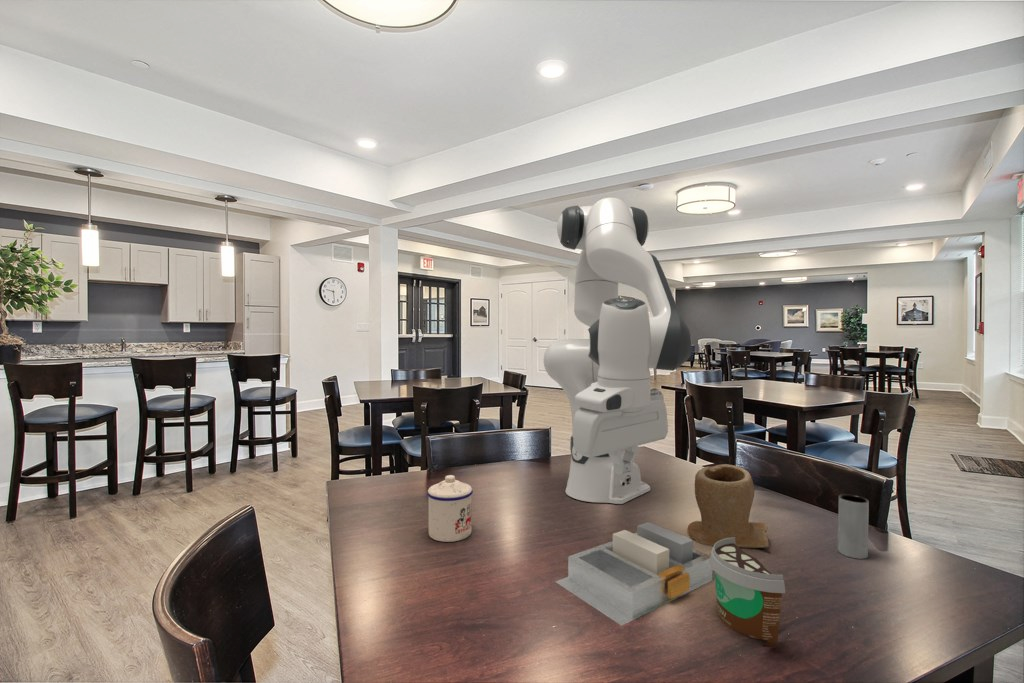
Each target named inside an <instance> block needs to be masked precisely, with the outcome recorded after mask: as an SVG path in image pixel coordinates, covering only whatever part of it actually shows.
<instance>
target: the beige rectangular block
mask: <svg viewBox="0 0 1024 683" xmlns="http://www.w3.org/2000/svg"><path fill="white" fill-rule="evenodd" d="M612 541H613V553H615V554H617V555H619V556H621V557H623V558H625V559H627V560H629V561H631V562H633V563H635V564H637V565H639V566H641V567H643V568H645V569H647V570H649V571H651V572H653V573H655V574H657V575H659V573H660V572H662V571H665V570H667V569H669V549H668V548H665V547H663V546H661V545H658V544H656V543H654V542H652V541H649V540H647V539H645V538H643V537H640V536H638V535H636V534H634V533H633V532H632V531H629V530H626V529H622V530H620V531H617V532H613V533H612Z"/></svg>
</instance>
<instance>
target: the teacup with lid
mask: <svg viewBox="0 0 1024 683" xmlns="http://www.w3.org/2000/svg"><path fill="white" fill-rule="evenodd" d="M426 493H427V494H426V495H427V497H428V536H429V537H430V538H431V539H433V540H435V541H437V542H443V543H444V542H445V543H446V542H447V543H451V542H459V541H462V540H465V539H466V538H468V537H469V536H471V534H472V494H473V493H474V492H473V488H472V486H471V485H470V484H468V483H466V482H461V481H460V480H457V479H456V477H455V475H452V474H449V475H445V477H444V480H442V481H440V482H439V483H436V484H433V485H431V486H430V487H429V488H428V490H427V492H426Z"/></svg>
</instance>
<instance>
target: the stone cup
mask: <svg viewBox="0 0 1024 683" xmlns="http://www.w3.org/2000/svg"><path fill="white" fill-rule="evenodd" d="M694 497H695V500H696V505H697V507H698V509H699V510H698V511H699V512H700V517H701V518H700V519H701V520H700V521H698V520H697V521H692V522H690V523H688V526H687V534H688V535H689V538H690V539H692V540H693V541H696V543H698V544H700V545H703V546H704V545H705V546H710V547H714V545H715V543H716V542H718V541H720V540H722V539H726V538H734V537H735V543H736V545H737V546H738V547H739V548H740V549H742V548H743V549H744V548H747V549H749V548H750V549H767V548H769V546H770V545H769V539H768V534H767V531H768V526H767V524H766V523H765V522H755V521H753V522H751V521H750V515H751V514H750V513H751V509H752V505H753V502H754V498H755V486H754V482H753V478H752V476H751V474H750V472H749V471H748V470H746V469H745V468H743V467H741V466H738V465H733V464H727V463H725V464H716V465H713V466H709V465H708V466H704V467H701V469H699V470H698V471H697V472H696V474H695V476H694Z"/></svg>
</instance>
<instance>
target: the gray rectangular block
mask: <svg viewBox="0 0 1024 683" xmlns="http://www.w3.org/2000/svg"><path fill="white" fill-rule="evenodd" d="M636 529H637V530H636V533H637V535H638V536H640V537H643V538H645V539H647V540H649V541H652V542H654V543H656V544H658V545H661V546H663V547H665V548H668V549H669V558H670V559H673V560H675V561H677V562H679V563H681V564H685V563H687V562H689V561H692V560H693V549H694V539H692V538H690V537H687V536H684V535H682V534H679V533H676V532H675V531H672V530H669V529H667V528H664V527H662V526H659V525H658V524H654V523H653V522H650V521H647V522H644V523H642V524H638V525H637V526H636Z"/></svg>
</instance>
